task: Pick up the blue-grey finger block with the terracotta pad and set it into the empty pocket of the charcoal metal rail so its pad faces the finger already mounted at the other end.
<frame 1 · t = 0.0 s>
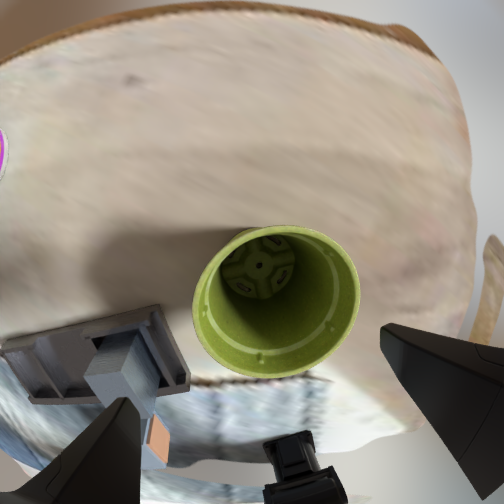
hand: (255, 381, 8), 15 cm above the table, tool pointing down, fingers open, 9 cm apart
plant pot: (257, 263, 23), on the table
rail: (82, 359, 23), on the table
finger block: (147, 419, 26), on the table
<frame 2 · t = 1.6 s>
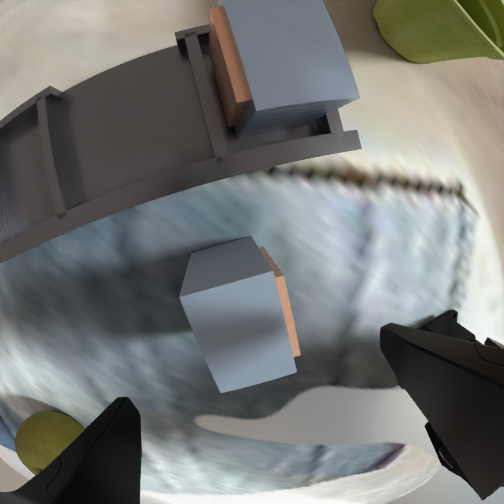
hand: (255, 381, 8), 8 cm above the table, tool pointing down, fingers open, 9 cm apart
plant pot: (403, 32, 13), on the table
rail: (133, 132, 13), on the table
apple: (67, 422, 18), on the table
finger block: (232, 284, 16), on the table
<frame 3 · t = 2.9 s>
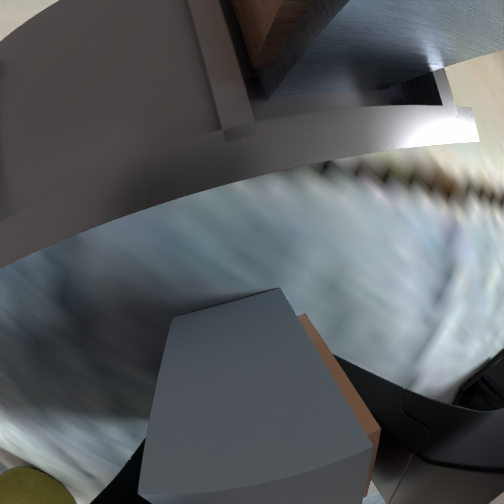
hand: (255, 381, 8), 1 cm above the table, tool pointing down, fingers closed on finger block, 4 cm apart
rail: (75, 100, 6), on the table
apple: (47, 477, 11), on the table
finger block: (246, 363, 9), on the table, touching gripper
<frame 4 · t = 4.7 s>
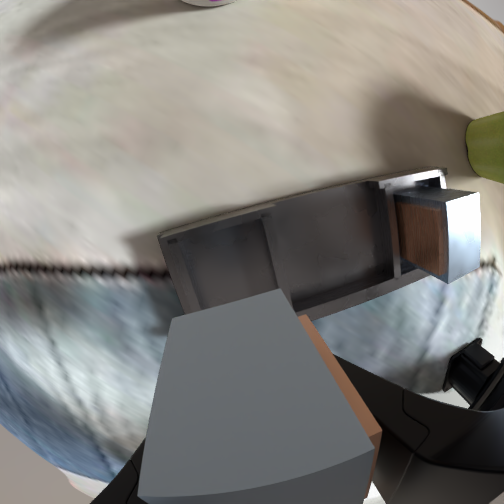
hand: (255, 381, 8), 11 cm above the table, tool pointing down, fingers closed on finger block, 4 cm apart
plant pot: (478, 149, 19), on the table
rail: (327, 244, 20), on the table
finger block: (246, 364, 9), point 11 cm above the table, touching gripper
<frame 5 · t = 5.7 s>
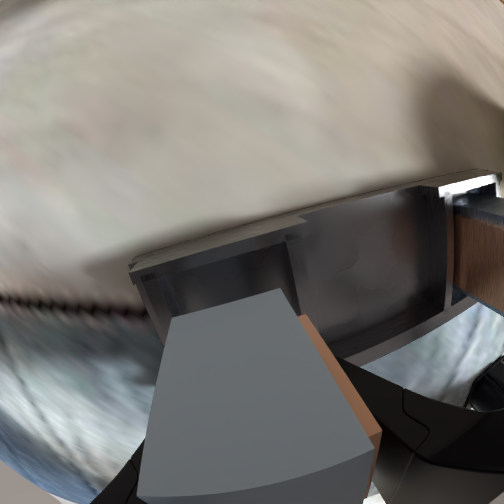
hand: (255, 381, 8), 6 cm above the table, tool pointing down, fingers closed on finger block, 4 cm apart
rail: (364, 269, 14), on the table
finger block: (246, 364, 9), point 5 cm above the table, touching gripper
when the fingers open (4 cm above the table, at t = 6.4 s): finger block drops 2 cm, resting on rail.
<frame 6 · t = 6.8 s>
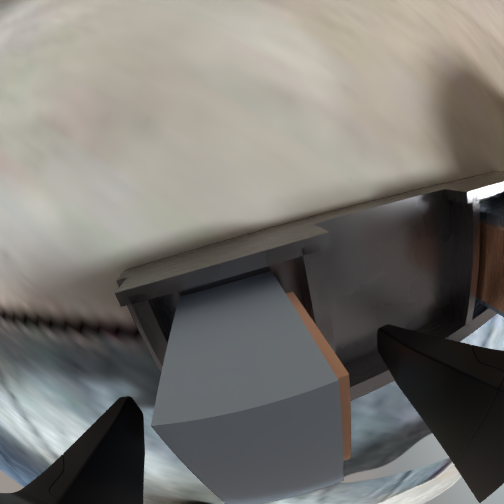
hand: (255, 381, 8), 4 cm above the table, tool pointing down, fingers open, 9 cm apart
rail: (383, 281, 12), on the table
finger block: (243, 339, 11), point 1 cm above the table, touching rail
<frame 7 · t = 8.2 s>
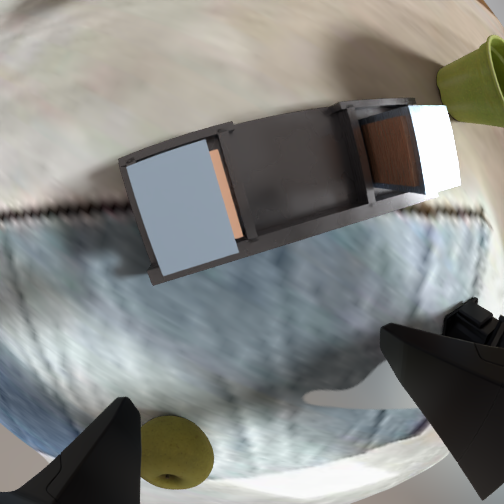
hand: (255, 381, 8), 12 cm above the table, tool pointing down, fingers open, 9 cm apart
plant pot: (452, 95, 19), on the table
rail: (293, 172, 18), on the table
apple: (173, 424, 23), on the table
finger block: (191, 198, 17), point 1 cm above the table, touching rail
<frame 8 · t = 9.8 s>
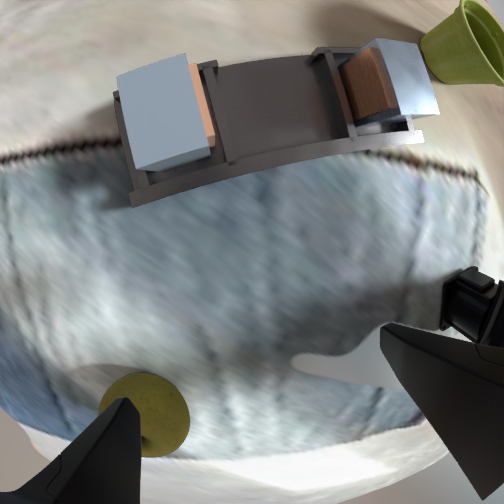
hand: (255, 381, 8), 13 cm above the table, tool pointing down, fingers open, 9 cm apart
plant pot: (438, 60, 18), on the table
rail: (276, 112, 18), on the table
apple: (151, 386, 23), on the table
finger block: (176, 129, 16), point 1 cm above the table, touching rail
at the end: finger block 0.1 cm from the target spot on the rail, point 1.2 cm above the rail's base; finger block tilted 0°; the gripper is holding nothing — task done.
